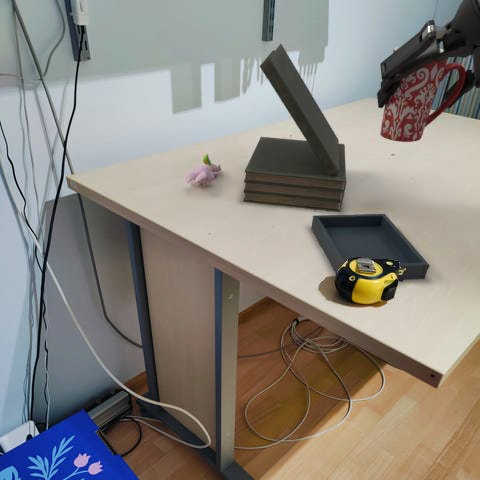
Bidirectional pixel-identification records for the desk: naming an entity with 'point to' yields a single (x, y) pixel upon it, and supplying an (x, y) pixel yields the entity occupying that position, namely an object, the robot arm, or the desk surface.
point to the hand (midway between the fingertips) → (413, 101)
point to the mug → (417, 101)
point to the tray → (367, 242)
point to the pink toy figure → (204, 172)
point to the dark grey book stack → (296, 150)
